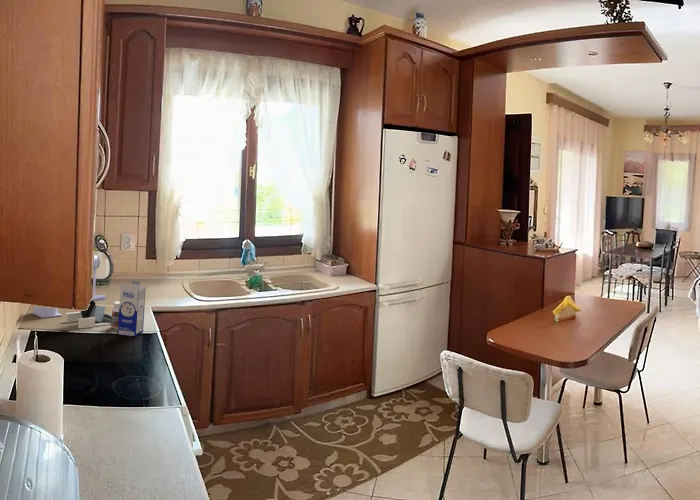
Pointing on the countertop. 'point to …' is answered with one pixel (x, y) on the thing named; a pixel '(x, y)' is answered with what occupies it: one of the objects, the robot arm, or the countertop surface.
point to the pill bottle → (115, 315)
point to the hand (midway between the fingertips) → (85, 320)
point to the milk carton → (131, 309)
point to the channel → (82, 320)
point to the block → (97, 313)
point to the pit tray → (107, 318)
